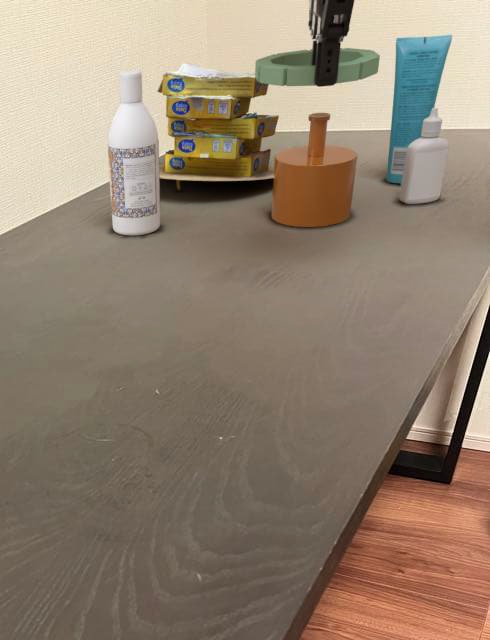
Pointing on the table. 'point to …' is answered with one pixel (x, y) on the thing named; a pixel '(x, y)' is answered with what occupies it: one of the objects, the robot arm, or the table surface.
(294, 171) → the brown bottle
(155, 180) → the bath foam
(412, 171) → the eye dropper bottle
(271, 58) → the rubber ring
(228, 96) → the stacked yellow boxes
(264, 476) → the table surface
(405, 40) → the tube
